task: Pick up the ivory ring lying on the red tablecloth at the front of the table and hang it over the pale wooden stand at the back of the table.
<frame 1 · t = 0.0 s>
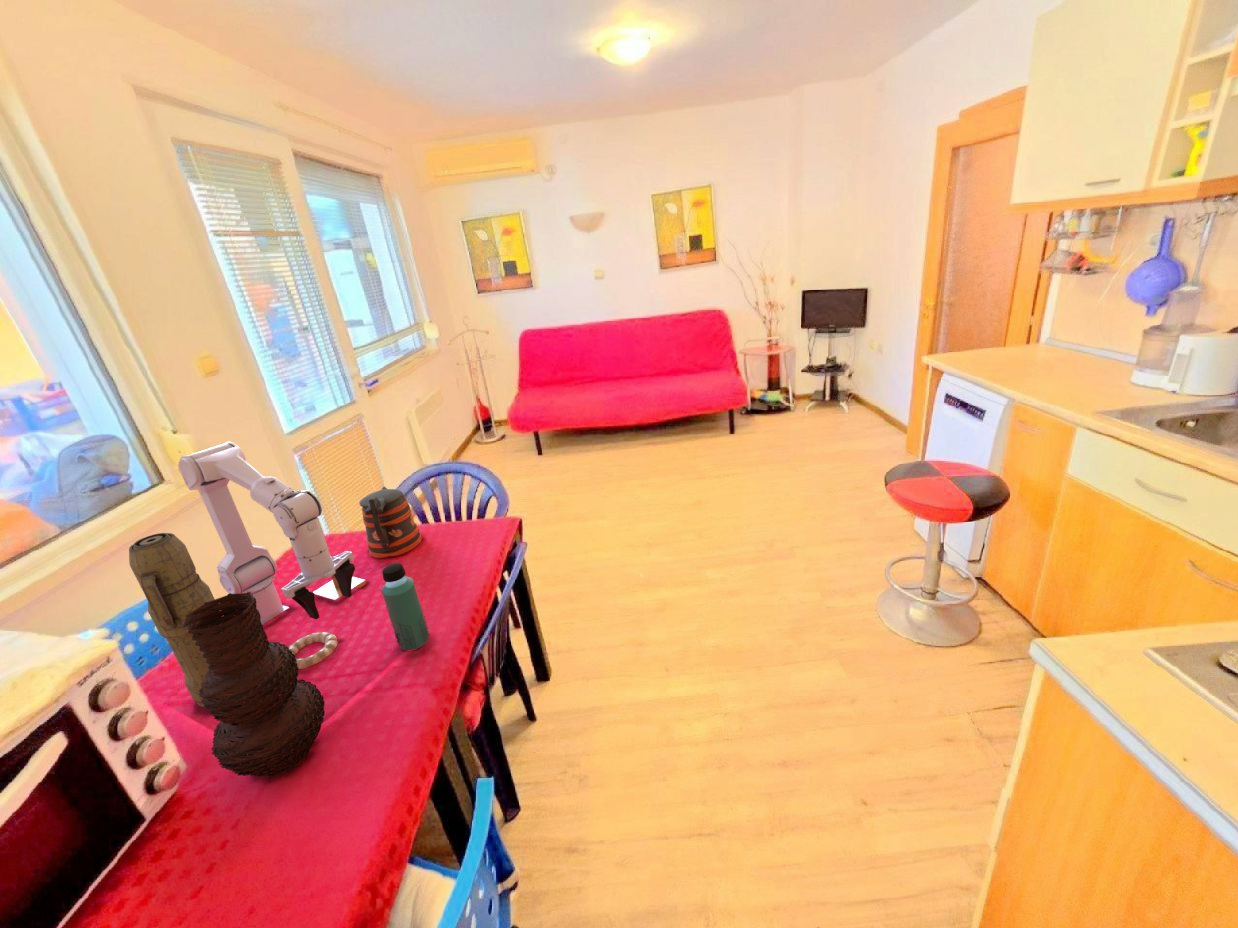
hand: (331, 606, 107), 10 cm above the table, tool pointing down, fingers open, 7 cm apart
stand: (340, 590, 131), on the table
ring: (310, 650, 108), point 1 cm above the table
beverage bottle: (415, 647, 108), on the table
beer stein: (395, 550, 148), on the table
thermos: (226, 694, 100), on the table
vase: (286, 756, 85), on the table
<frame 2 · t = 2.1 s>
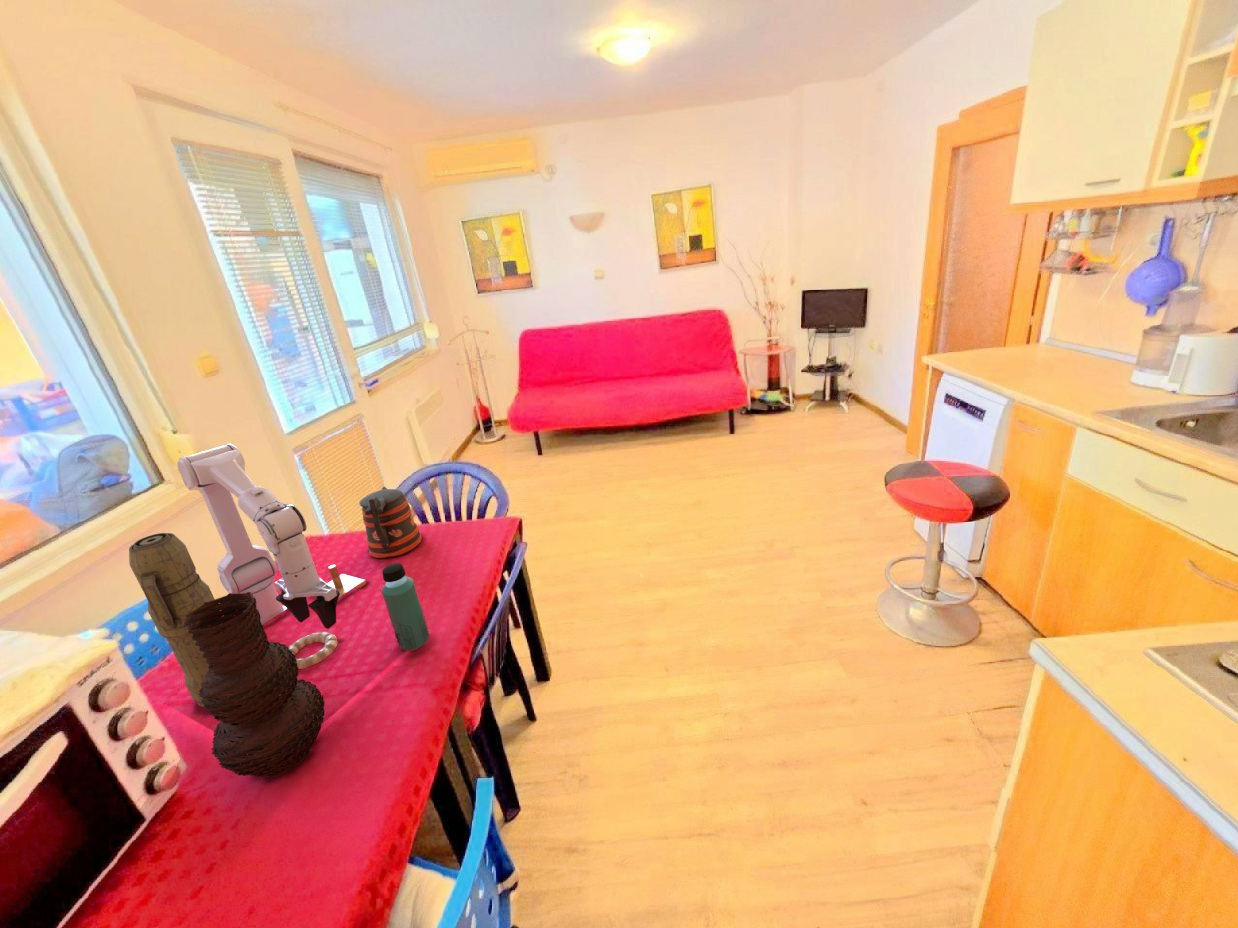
hand: (317, 622, 104), 9 cm above the table, tool pointing down, fingers open, 7 cm apart
nothing on the table moved.
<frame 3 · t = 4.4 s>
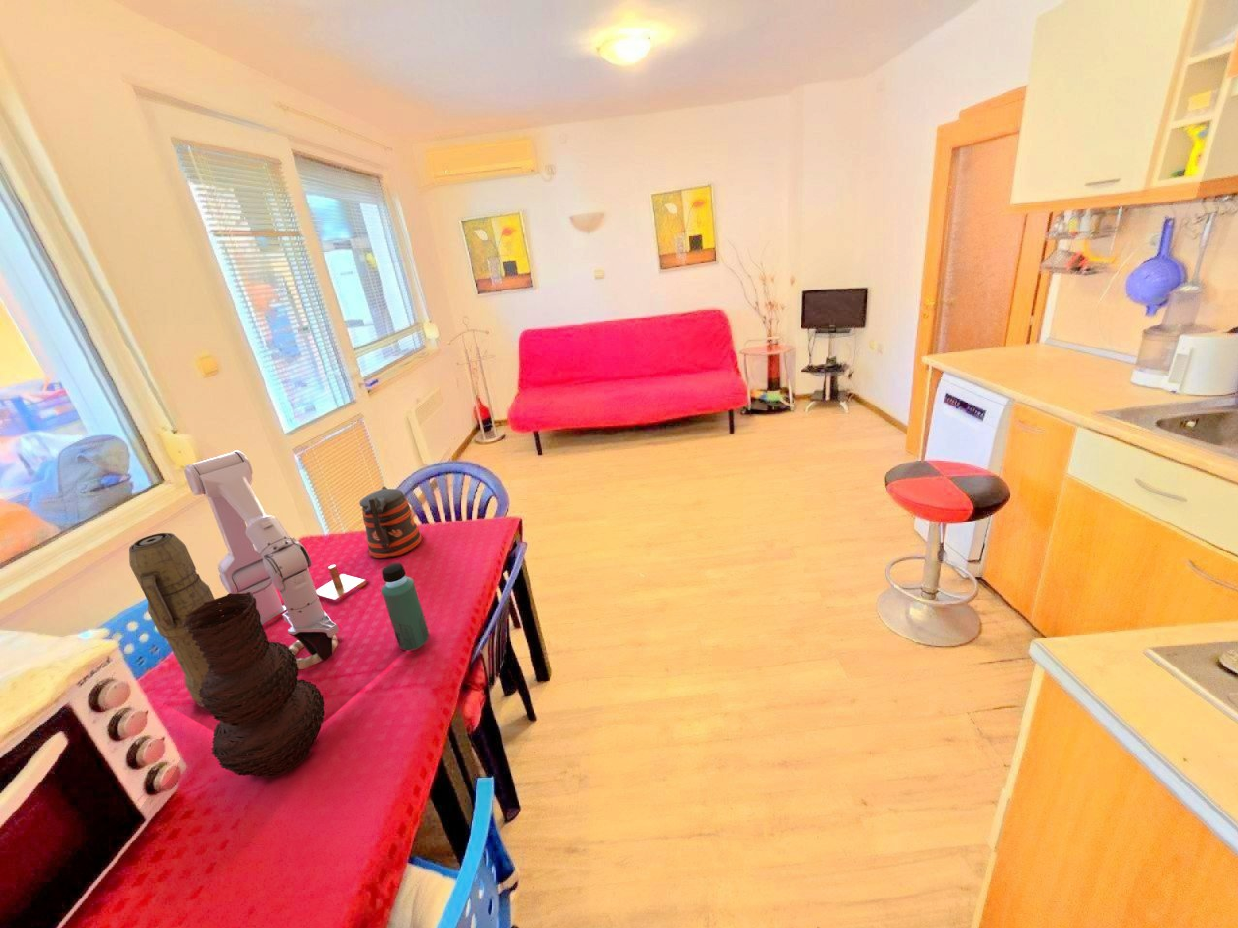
hand: (322, 654, 106), 1 cm above the table, tool pointing down, fingers closed on ring, 2 cm apart
ring: (310, 650, 108), point 1 cm above the table, touching gripper
everything else where it was.
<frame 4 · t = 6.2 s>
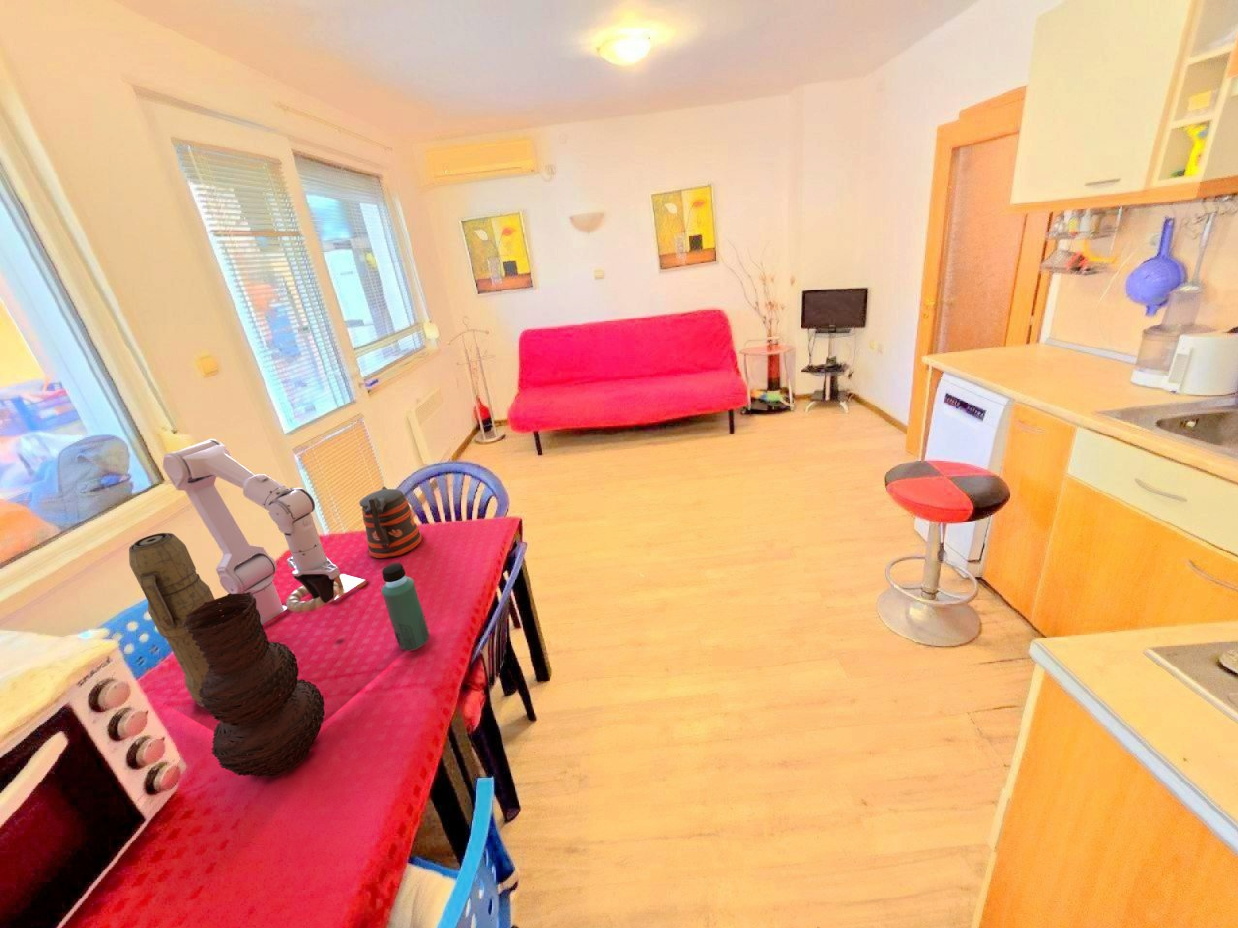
hand: (324, 598, 112), 9 cm above the table, tool pointing down, fingers closed on ring, 2 cm apart
ring: (313, 595, 114), point 9 cm above the table, touching gripper
everything else where it was.
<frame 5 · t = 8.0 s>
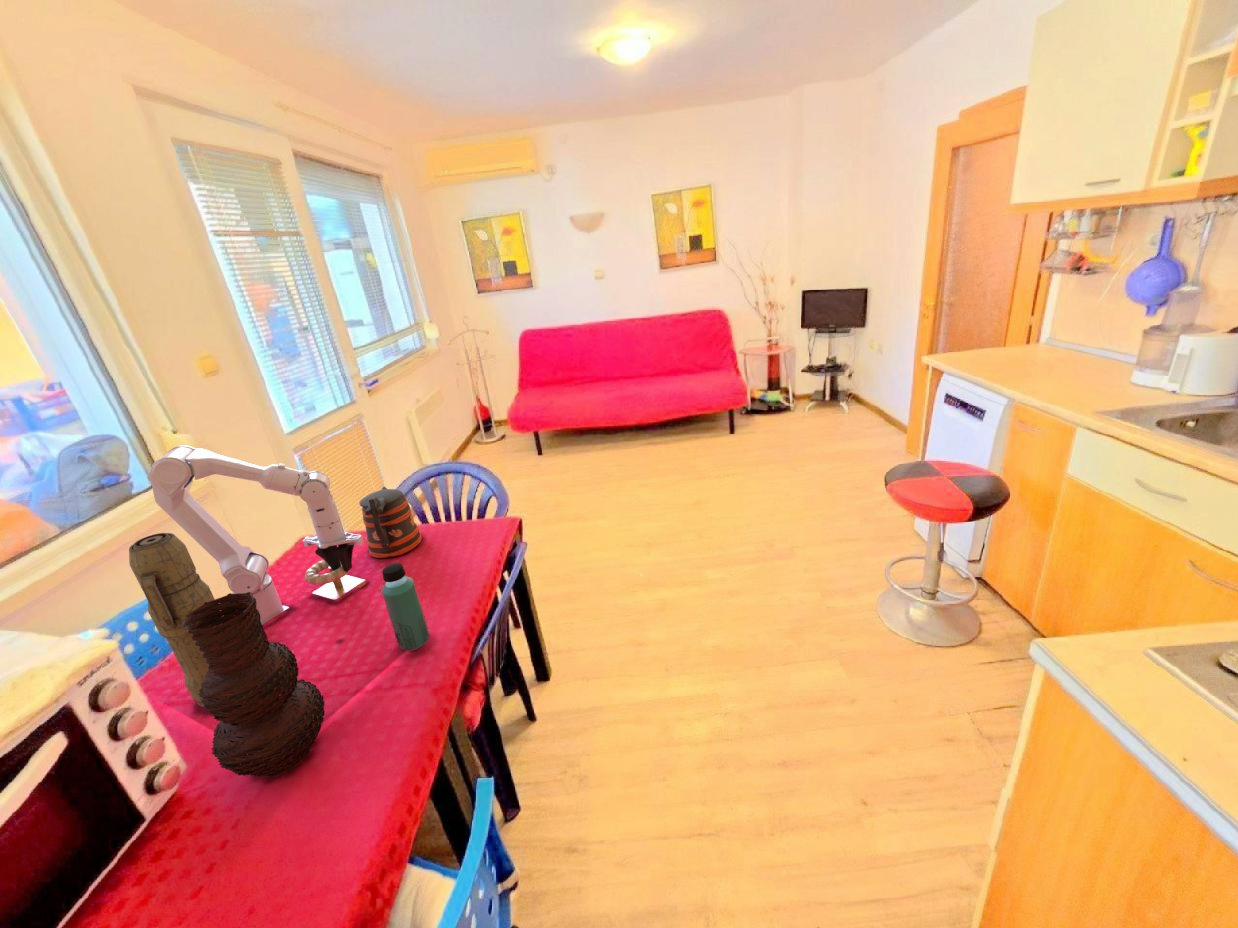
hand: (342, 569, 126), 7 cm above the table, tool pointing down, fingers closed on ring, 2 cm apart
ring: (328, 570, 127), point 7 cm above the table, touching gripper
everything else where it was.
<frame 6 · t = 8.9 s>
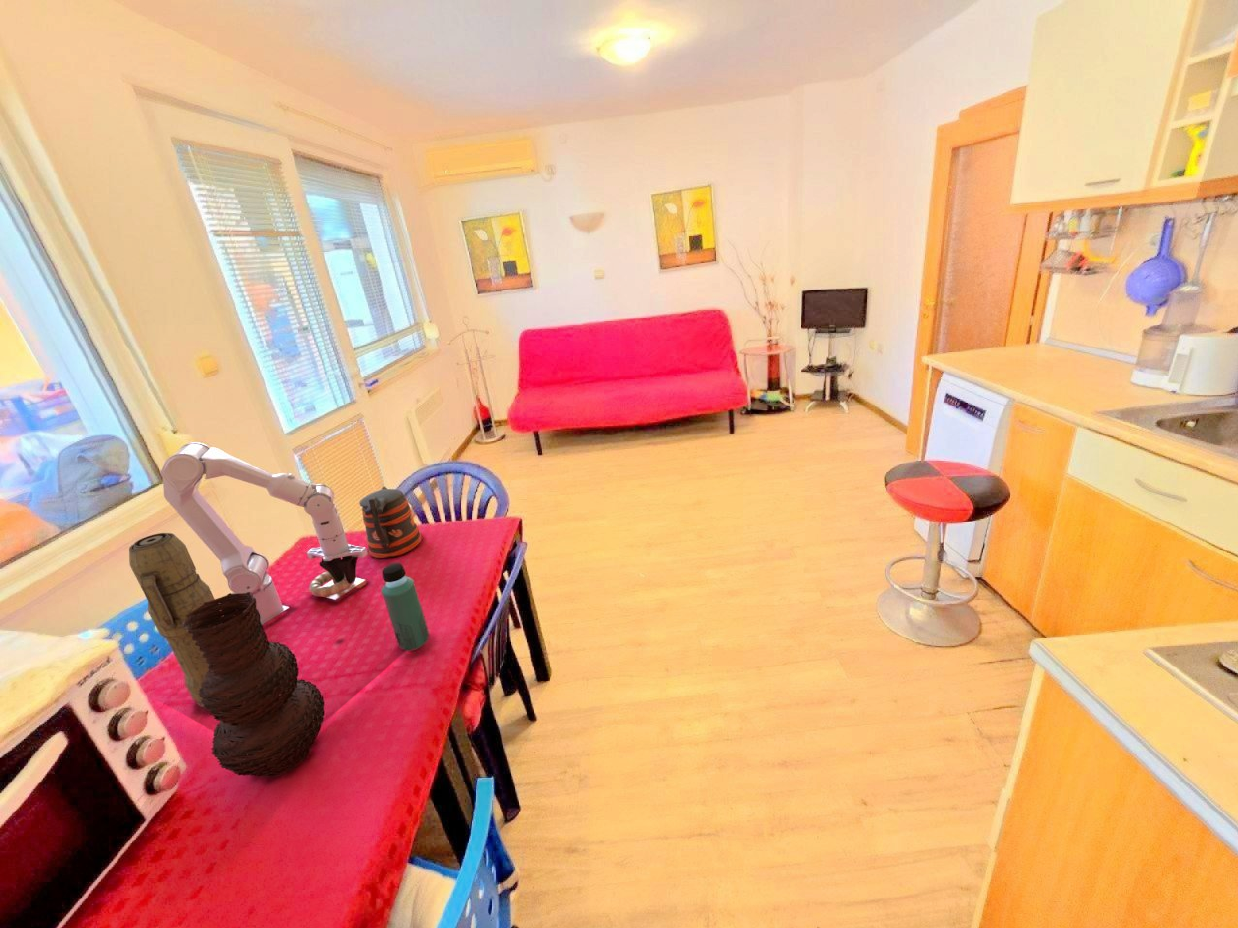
hand: (346, 581, 128), 4 cm above the table, tool pointing down, fingers closed on ring, 2 cm apart
ring: (332, 581, 128), point 3 cm above the table, touching gripper
everything else where it was.
when the fingers open (3 cm above the table, at t = 11.6 s): ring stays where it is, resting on stand.
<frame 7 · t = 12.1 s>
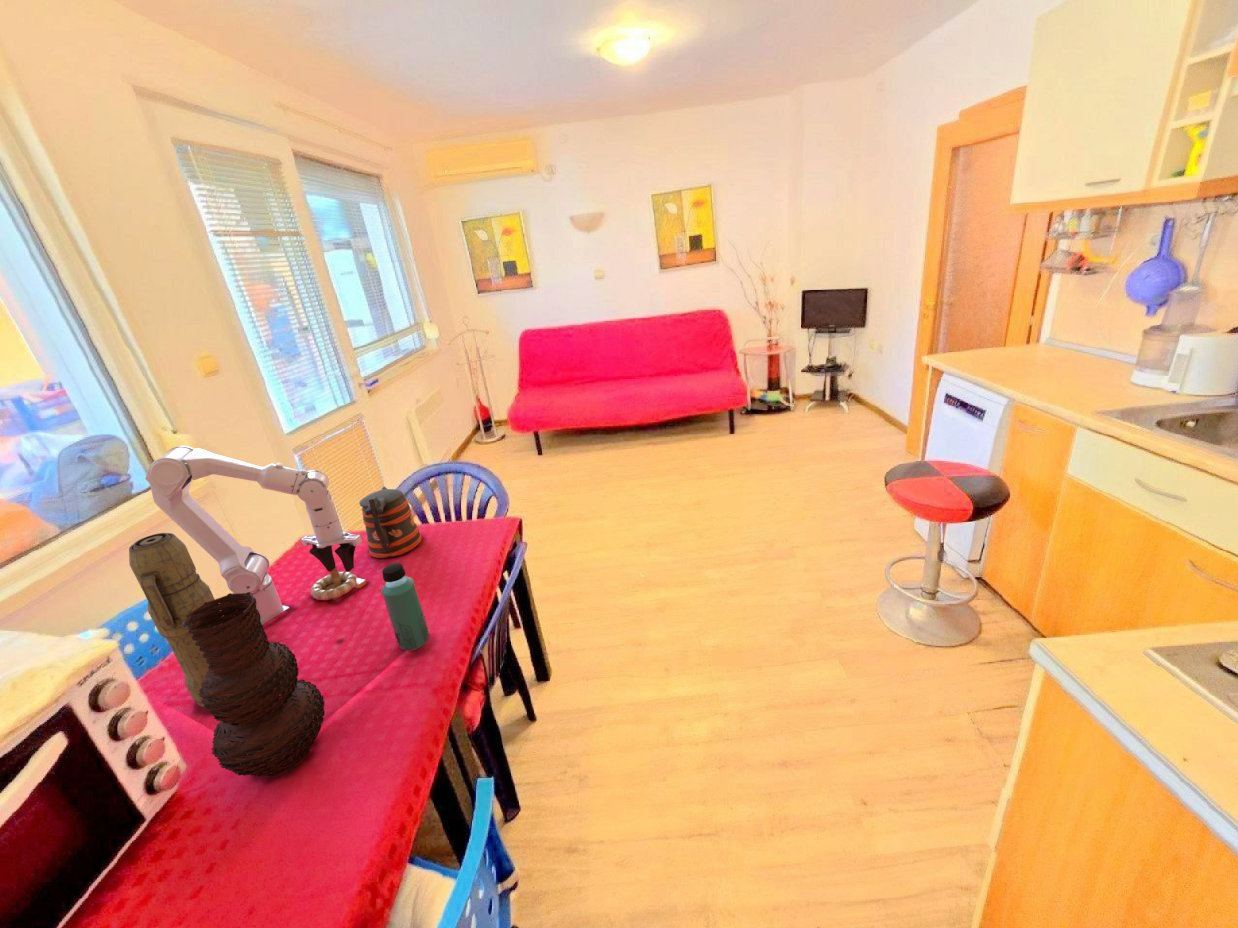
hand: (341, 569, 126), 7 cm above the table, tool pointing down, fingers open, 4 cm apart
ring: (334, 585, 128), point 2 cm above the table, touching stand
everything else where it was.
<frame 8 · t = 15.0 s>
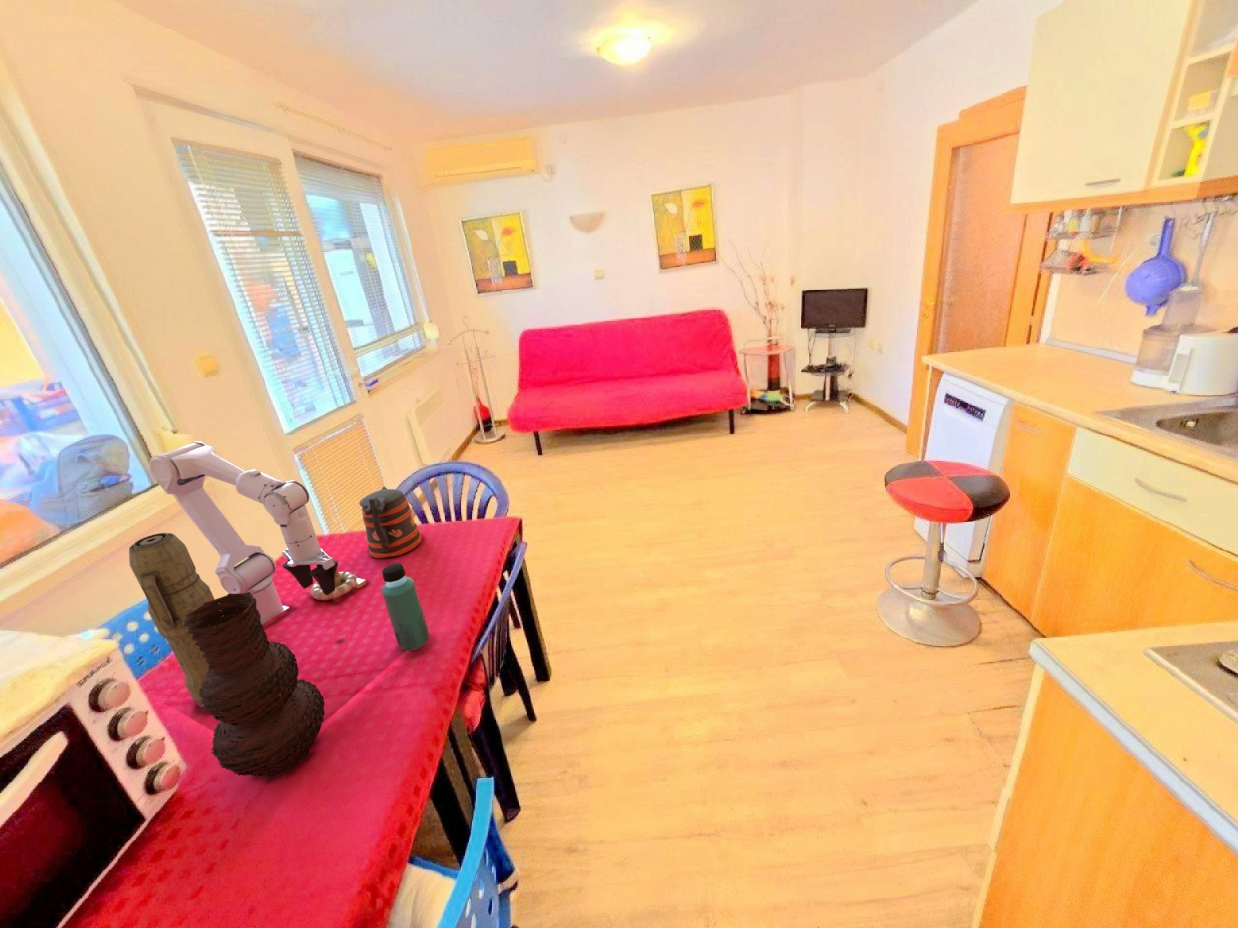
hand: (319, 589, 115), 9 cm above the table, tool pointing down, fingers open, 7 cm apart
nothing on the table moved.
at the end: ring 1.3 cm from the stand (horizontally); ring point 2.4 cm above the table; the gripper is holding nothing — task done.
